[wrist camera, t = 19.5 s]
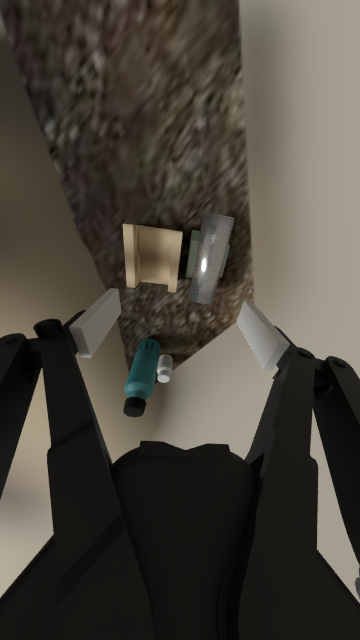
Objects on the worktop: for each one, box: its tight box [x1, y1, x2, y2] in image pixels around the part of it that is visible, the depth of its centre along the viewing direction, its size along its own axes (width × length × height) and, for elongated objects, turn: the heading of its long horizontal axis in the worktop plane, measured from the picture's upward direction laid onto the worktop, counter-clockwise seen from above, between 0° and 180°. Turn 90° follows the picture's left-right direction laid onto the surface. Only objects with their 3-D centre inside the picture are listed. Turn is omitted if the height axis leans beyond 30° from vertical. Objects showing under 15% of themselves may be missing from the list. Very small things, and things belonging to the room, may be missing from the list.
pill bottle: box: [157, 354, 173, 383], centre depth 45 cm, size 4×4×8 cm
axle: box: [189, 214, 235, 304], centre depth 27 cm, size 14×5×5 cm, turn 173°
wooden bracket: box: [123, 224, 183, 293], centre depth 29 cm, size 10×9×8 cm
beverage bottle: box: [124, 338, 160, 417], centre depth 36 cm, size 6×7×20 cm
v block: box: [186, 230, 230, 278], centre depth 30 cm, size 9×7×4 cm
